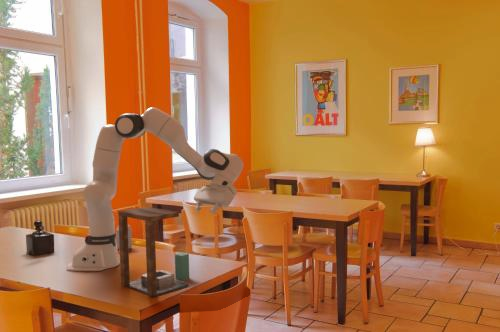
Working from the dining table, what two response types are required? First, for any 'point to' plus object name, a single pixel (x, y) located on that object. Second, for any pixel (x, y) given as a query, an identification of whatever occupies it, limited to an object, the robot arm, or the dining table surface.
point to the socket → (158, 283)
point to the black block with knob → (39, 241)
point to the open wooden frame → (150, 217)
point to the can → (128, 237)
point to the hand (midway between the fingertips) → (203, 211)
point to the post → (182, 266)
